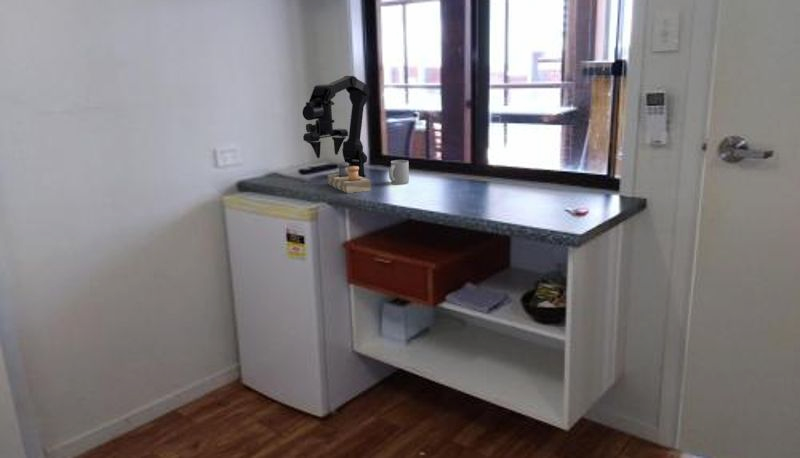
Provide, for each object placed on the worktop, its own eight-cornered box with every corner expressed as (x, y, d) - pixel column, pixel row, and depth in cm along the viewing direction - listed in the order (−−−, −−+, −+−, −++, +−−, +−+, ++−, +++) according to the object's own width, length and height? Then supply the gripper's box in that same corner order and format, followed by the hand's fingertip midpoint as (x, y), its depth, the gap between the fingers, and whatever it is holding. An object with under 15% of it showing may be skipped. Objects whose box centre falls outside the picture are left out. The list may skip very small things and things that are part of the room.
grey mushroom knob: (346, 176, 254) (346, 162, 253) (351, 177, 251) (350, 163, 249) (336, 177, 252) (335, 163, 251) (340, 179, 249) (339, 164, 247)
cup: (412, 182, 255) (412, 161, 252) (396, 186, 248) (396, 164, 245) (399, 180, 259) (398, 159, 257) (383, 184, 252) (382, 162, 250)
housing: (328, 184, 254) (327, 175, 253) (350, 181, 259) (350, 172, 258) (347, 193, 237) (346, 183, 236) (370, 190, 242) (370, 180, 241)
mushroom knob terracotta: (356, 180, 246) (356, 165, 244) (361, 182, 242) (360, 167, 240) (345, 181, 244) (345, 166, 242) (350, 183, 240) (349, 168, 238)
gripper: (330, 114, 258) (332, 151, 263) (293, 118, 246) (296, 157, 250) (347, 115, 251) (349, 153, 255) (310, 120, 238) (313, 160, 243)
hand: (327, 156), depth 251 cm, fingers open, 9 cm apart
